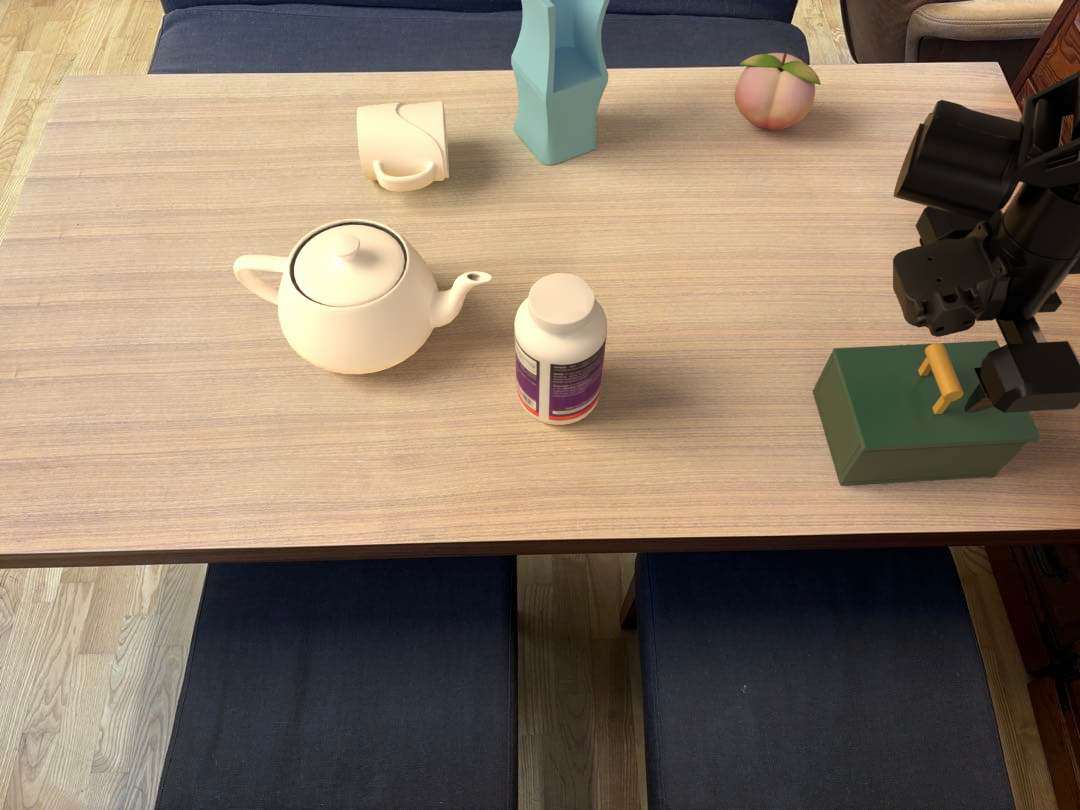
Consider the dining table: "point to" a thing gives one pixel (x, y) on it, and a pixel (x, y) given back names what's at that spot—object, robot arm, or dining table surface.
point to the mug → (403, 144)
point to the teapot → (356, 296)
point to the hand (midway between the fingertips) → (951, 364)
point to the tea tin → (899, 462)
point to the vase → (559, 77)
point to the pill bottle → (559, 349)
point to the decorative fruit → (775, 90)
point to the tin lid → (923, 397)
